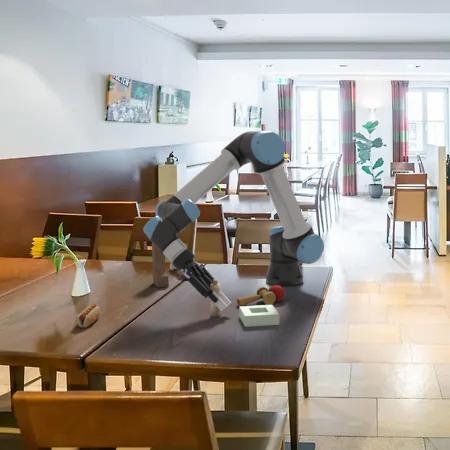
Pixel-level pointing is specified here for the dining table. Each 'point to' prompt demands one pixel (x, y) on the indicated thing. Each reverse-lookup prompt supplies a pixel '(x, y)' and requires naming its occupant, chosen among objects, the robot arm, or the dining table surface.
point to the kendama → (264, 296)
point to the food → (88, 316)
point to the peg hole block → (258, 315)
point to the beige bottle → (214, 309)
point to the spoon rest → (182, 269)
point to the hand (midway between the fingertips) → (226, 306)
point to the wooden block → (159, 268)
